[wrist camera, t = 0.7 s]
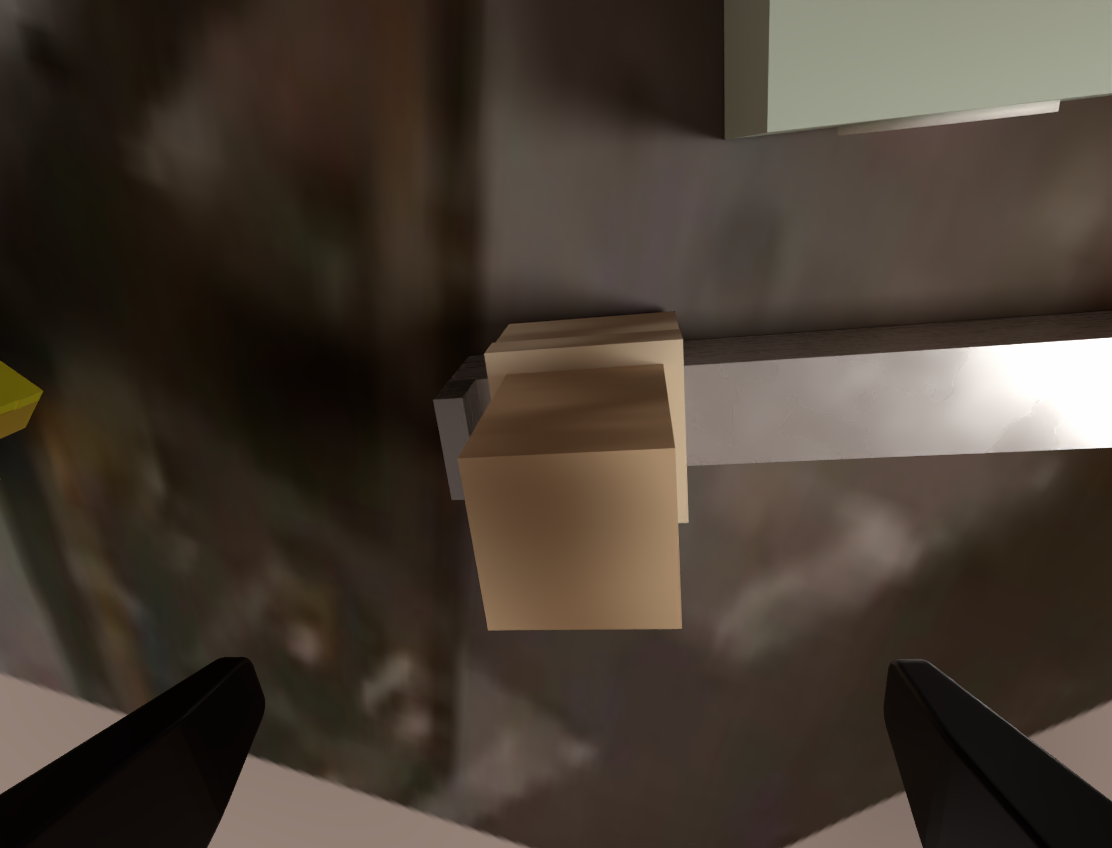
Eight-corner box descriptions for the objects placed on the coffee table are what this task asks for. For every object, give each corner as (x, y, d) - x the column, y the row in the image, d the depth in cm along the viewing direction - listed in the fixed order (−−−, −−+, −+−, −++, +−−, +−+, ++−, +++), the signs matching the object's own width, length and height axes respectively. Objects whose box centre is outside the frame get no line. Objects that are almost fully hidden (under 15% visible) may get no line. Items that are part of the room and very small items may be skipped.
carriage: (674, 307, 19) (703, 415, 11) (679, 466, 21) (707, 652, 13) (508, 320, 20) (425, 430, 12) (528, 472, 22) (469, 652, 14)
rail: (1213, 303, 17) (1367, 342, 14) (1184, 405, 19) (1320, 467, 15) (468, 356, 20) (432, 399, 17) (482, 441, 22) (451, 500, 18)
